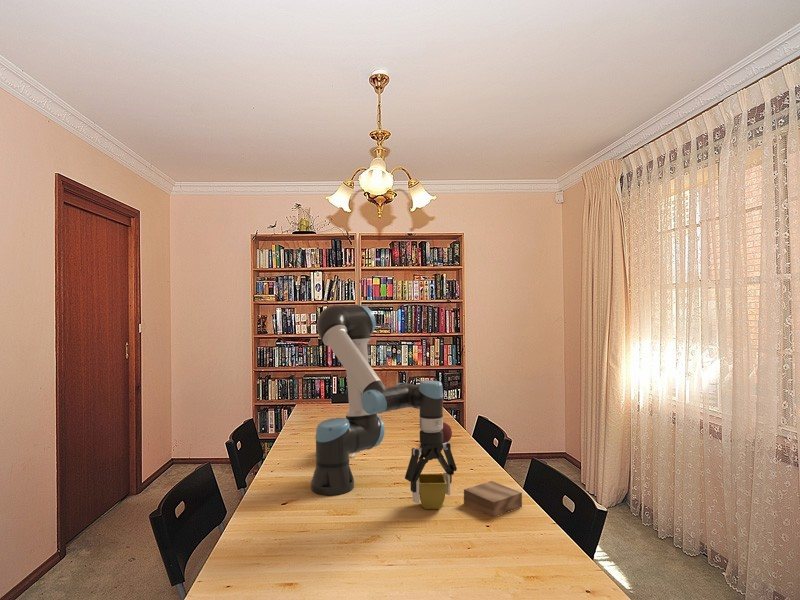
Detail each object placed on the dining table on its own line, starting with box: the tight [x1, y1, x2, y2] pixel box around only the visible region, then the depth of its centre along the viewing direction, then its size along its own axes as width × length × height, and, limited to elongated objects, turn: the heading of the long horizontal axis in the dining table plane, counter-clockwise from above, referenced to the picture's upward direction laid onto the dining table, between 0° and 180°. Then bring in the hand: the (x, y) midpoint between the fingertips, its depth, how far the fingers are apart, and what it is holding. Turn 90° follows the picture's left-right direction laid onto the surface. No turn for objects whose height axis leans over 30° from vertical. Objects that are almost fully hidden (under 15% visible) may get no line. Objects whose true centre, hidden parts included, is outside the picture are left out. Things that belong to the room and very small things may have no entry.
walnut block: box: [463, 480, 523, 518], centre depth 160 cm, size 13×13×5 cm
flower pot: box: [417, 473, 447, 510], centre depth 160 cm, size 9×9×9 cm
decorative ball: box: [442, 421, 453, 444], centre depth 230 cm, size 10×10×10 cm
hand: (431, 497), depth 160 cm, fingers closed on flower pot, 11 cm apart
